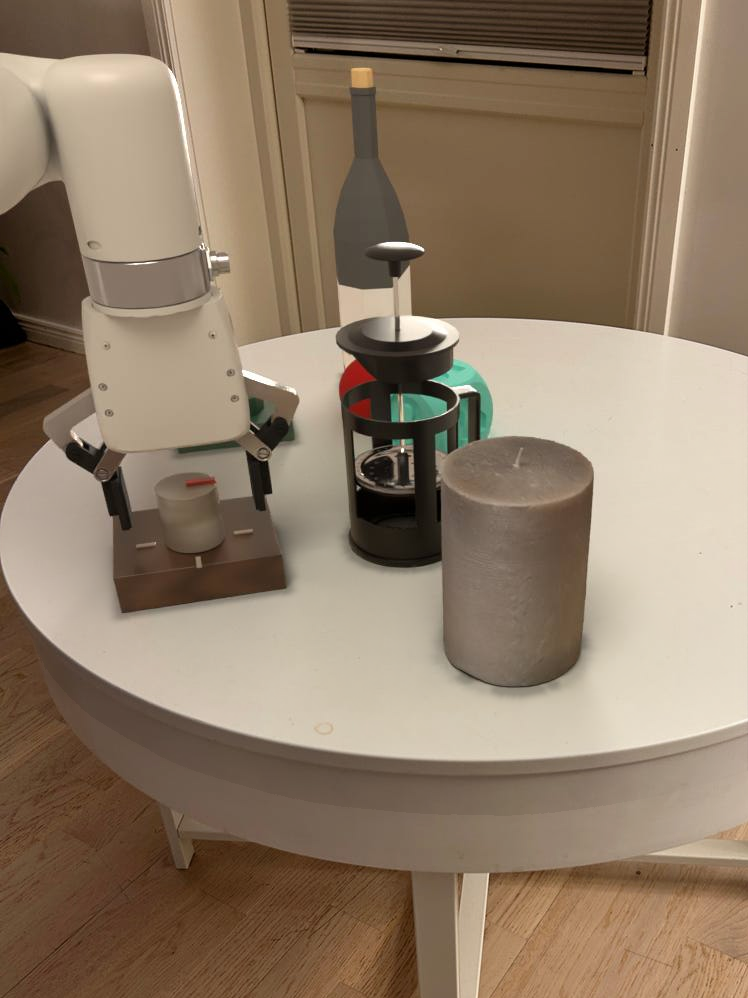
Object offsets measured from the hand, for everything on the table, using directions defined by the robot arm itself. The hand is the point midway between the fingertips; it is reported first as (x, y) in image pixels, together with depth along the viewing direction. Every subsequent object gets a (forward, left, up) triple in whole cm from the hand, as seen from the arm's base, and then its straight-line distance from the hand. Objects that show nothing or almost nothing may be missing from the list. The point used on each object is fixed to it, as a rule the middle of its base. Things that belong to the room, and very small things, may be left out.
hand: (194, 512), depth 74 cm
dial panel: (0, +1, -5) cm, 5 cm away
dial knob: (0, 0, -2) cm, 2 cm away
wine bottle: (+22, +37, -6) cm, 43 cm away
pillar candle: (+20, -16, -6) cm, 26 cm away
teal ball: (+23, +16, -6) cm, 28 cm away
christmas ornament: (+19, +24, -6) cm, 31 cm away
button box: (+5, +27, -5) cm, 28 cm away
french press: (+17, +1, -6) cm, 18 cm away
